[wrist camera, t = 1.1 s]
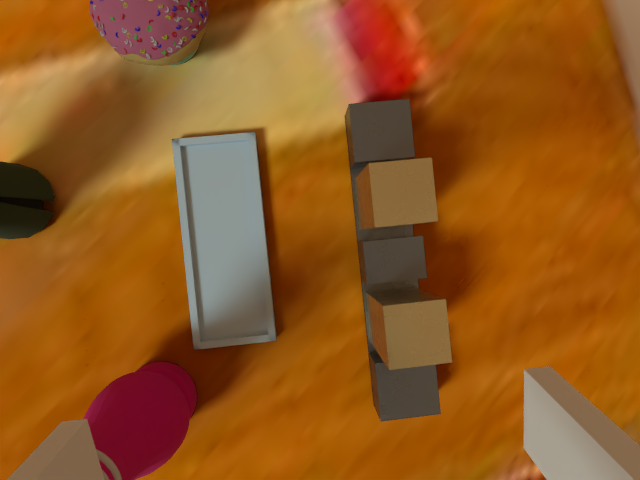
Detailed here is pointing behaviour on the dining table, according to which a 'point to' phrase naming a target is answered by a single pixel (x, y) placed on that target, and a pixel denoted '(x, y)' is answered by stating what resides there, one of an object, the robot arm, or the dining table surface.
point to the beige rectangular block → (396, 194)
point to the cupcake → (152, 28)
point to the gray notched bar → (389, 254)
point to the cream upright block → (409, 327)
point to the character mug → (22, 201)
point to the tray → (224, 240)
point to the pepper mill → (141, 420)
